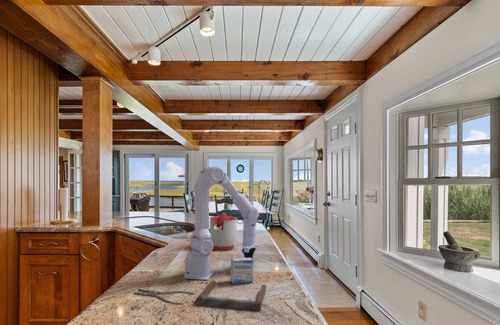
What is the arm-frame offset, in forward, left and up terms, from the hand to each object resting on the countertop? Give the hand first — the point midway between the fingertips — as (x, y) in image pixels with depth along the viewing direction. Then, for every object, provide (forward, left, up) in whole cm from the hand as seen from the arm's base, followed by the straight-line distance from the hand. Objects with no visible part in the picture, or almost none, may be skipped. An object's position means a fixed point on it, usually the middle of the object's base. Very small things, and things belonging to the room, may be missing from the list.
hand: (248, 265), depth 129 cm
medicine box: (0, -17, -2) cm, 17 cm away
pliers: (-23, -37, -2) cm, 44 cm away
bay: (0, -32, -1) cm, 32 cm away
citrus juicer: (-20, +32, -2) cm, 38 cm away
